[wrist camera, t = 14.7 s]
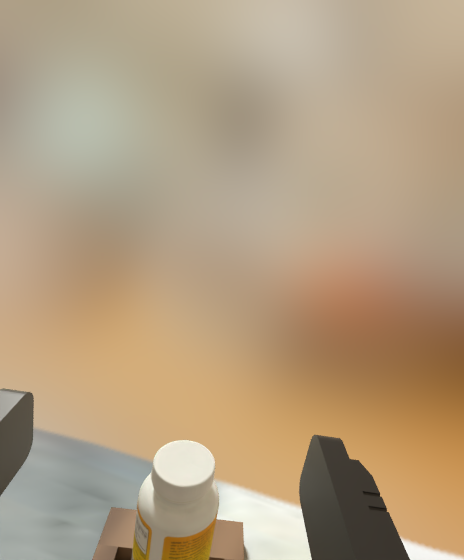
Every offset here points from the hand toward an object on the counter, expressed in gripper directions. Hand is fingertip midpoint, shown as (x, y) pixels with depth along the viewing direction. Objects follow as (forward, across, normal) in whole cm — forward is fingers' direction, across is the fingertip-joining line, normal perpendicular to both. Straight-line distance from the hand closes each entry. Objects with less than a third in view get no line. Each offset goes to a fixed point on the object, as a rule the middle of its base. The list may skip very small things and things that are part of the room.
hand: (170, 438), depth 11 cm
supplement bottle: (+10, -1, +20) cm, 23 cm away
